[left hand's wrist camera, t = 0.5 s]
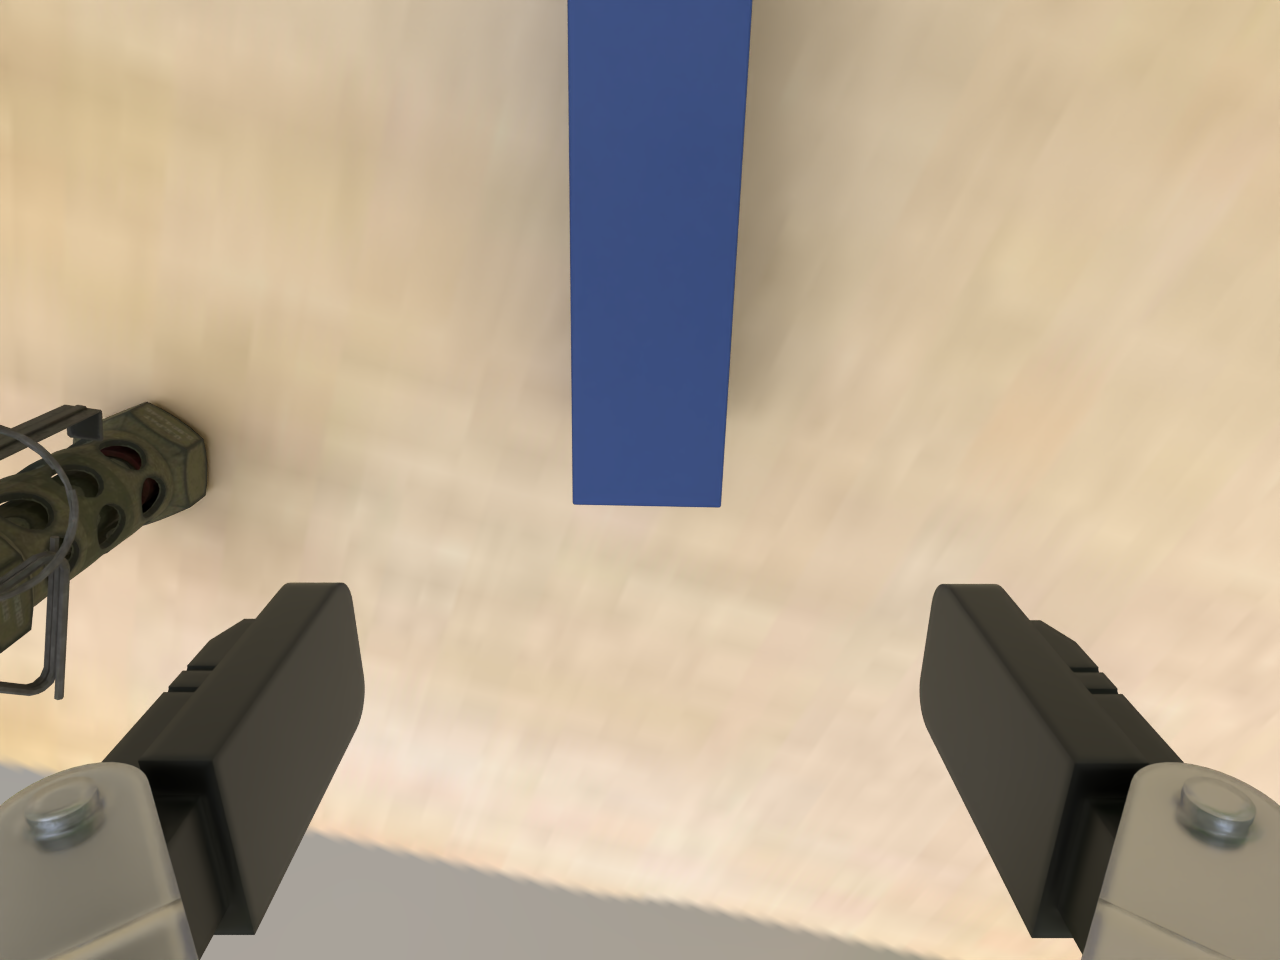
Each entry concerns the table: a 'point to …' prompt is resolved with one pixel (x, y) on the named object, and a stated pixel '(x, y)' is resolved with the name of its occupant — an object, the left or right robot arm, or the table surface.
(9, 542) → the grenade
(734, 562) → the table surface
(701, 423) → the bar
